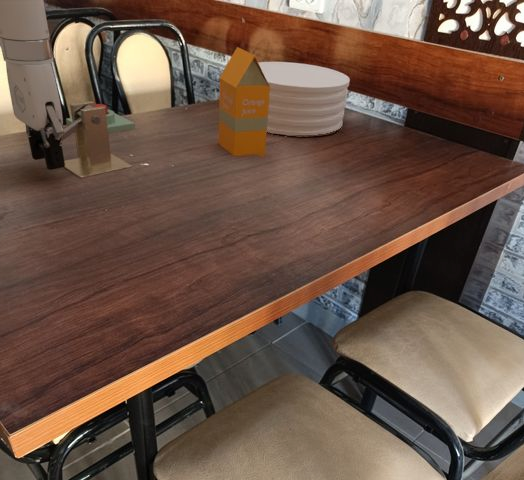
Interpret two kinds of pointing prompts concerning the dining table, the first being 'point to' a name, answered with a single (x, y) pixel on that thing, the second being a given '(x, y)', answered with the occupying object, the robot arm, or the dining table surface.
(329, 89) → the plate stack
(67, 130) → the lever
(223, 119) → the orange juice
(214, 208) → the dining table surface
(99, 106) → the stop button
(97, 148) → the bracket
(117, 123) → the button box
